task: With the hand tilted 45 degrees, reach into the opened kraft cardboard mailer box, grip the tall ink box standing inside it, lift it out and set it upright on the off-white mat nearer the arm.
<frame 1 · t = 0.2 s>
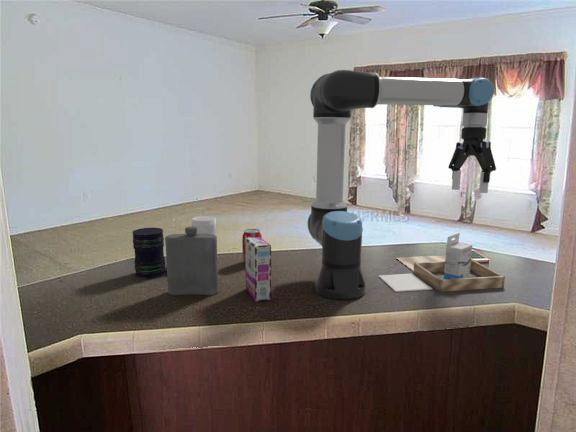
hand: (468, 191, 149), 27 cm above the counter, tool pointing down, fingers open, 13 cm apart
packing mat: (404, 282, 141), on the counter
ink box: (456, 280, 144), resting in mailer box
mailer box: (456, 279, 144), on the counter
flask: (193, 292, 133), on the counter
candy bar box: (258, 295, 131), on the counter
cup: (205, 261, 163), on the counter
storage jar: (150, 274, 149), on the counter
soda can: (252, 263, 161), on the counter
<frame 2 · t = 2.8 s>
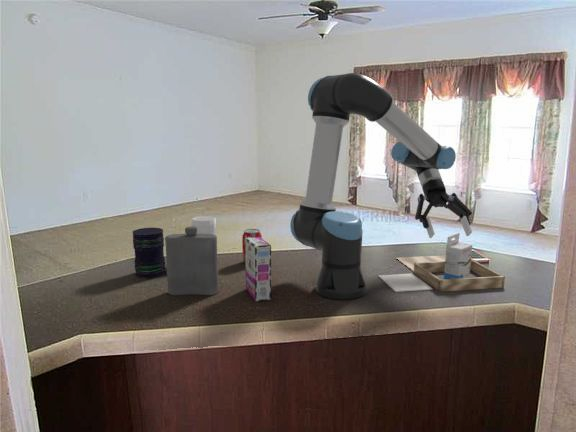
hand: (450, 235, 148), 13 cm above the counter, tool tilted 45°, fingers open, 13 cm apart
nothing on the counter moved.
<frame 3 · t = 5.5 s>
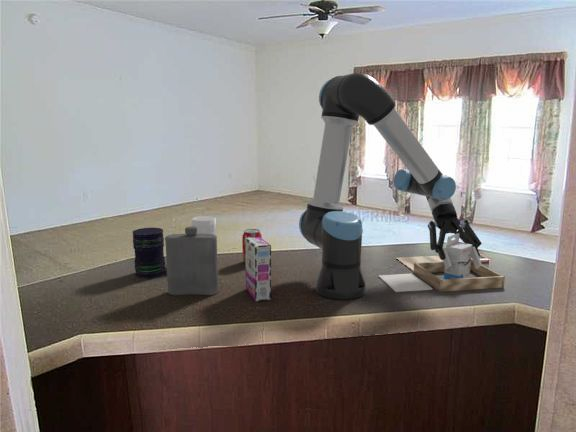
hand: (464, 267, 139), 5 cm above the counter, tool tilted 45°, fingers closed on ink box, 9 cm apart
ink box: (456, 280, 144), resting in mailer box, touching gripper
everything else where it was.
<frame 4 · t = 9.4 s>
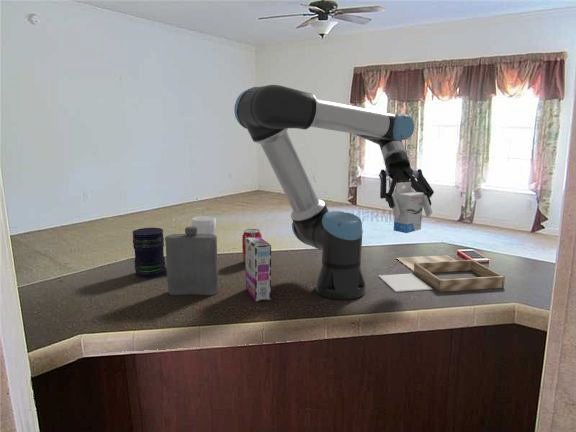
hand: (413, 215, 132), 23 cm above the counter, tool tilted 45°, fingers closed on ink box, 9 cm apart
ink box: (407, 230, 137), point 17 cm above the counter, touching gripper
everything else where it was.
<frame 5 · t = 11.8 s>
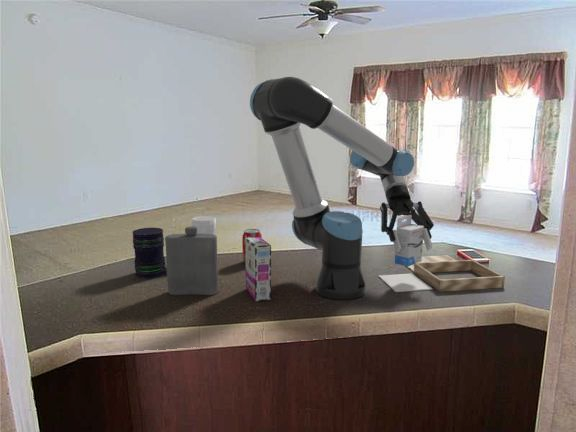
hand: (414, 249, 135), 12 cm above the counter, tool tilted 45°, fingers closed on ink box, 9 cm apart
ink box: (408, 263, 140), point 6 cm above the counter, touching gripper
everything else where it was.
when the fingers open (7 cm above the counter, at t = 13.7 s): ink box drops 1 cm, resting on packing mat.
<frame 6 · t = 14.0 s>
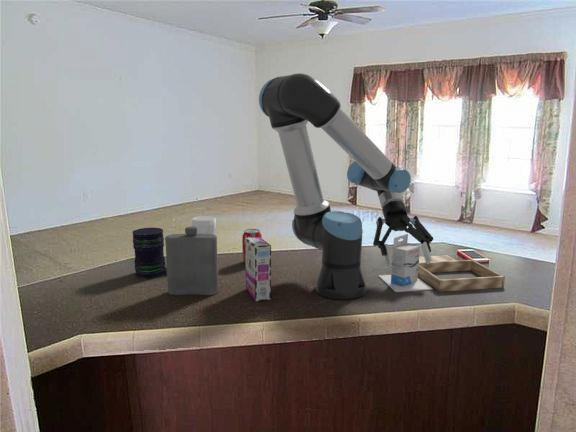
hand: (409, 263, 136), 7 cm above the counter, tool tilted 45°, fingers open, 12 cm apart
ink box: (404, 282, 141), resting on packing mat
everything else where it was.
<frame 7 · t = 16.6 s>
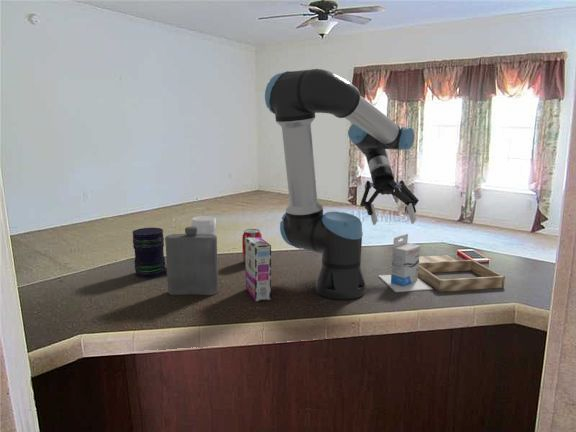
hand: (394, 222, 146), 18 cm above the counter, tool tilted 45°, fingers open, 13 cm apart
nothing on the counter moved.
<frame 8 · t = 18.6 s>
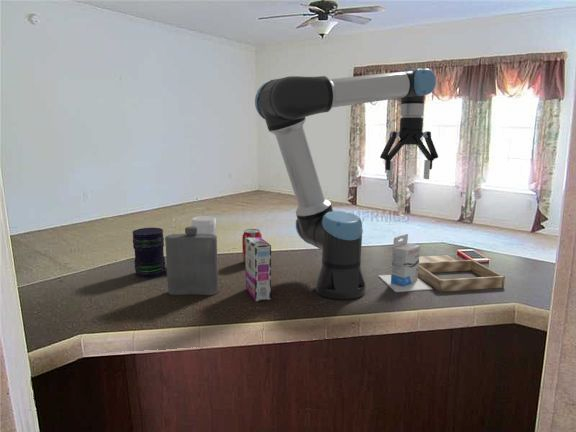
hand: (408, 179, 154), 31 cm above the counter, tool pointing down, fingers open, 13 cm apart
nothing on the counter moved.
at the end: ink box inside the target area (0.1 cm from its centre), resting on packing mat; ink box tilted 0°; the gripper is holding nothing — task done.
